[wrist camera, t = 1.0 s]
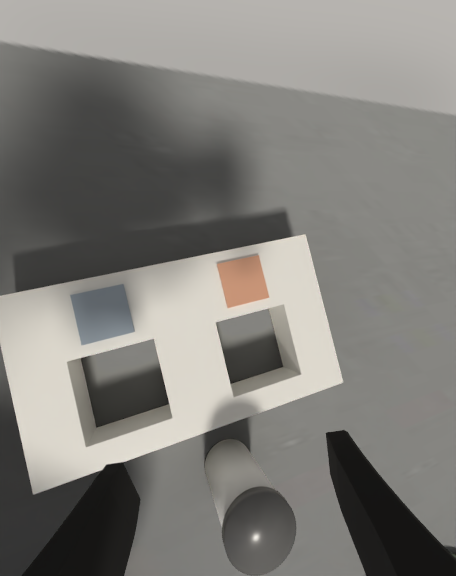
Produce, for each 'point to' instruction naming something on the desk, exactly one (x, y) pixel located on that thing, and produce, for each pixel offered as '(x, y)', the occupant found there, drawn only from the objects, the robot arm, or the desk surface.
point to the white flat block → (159, 352)
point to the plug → (248, 510)
